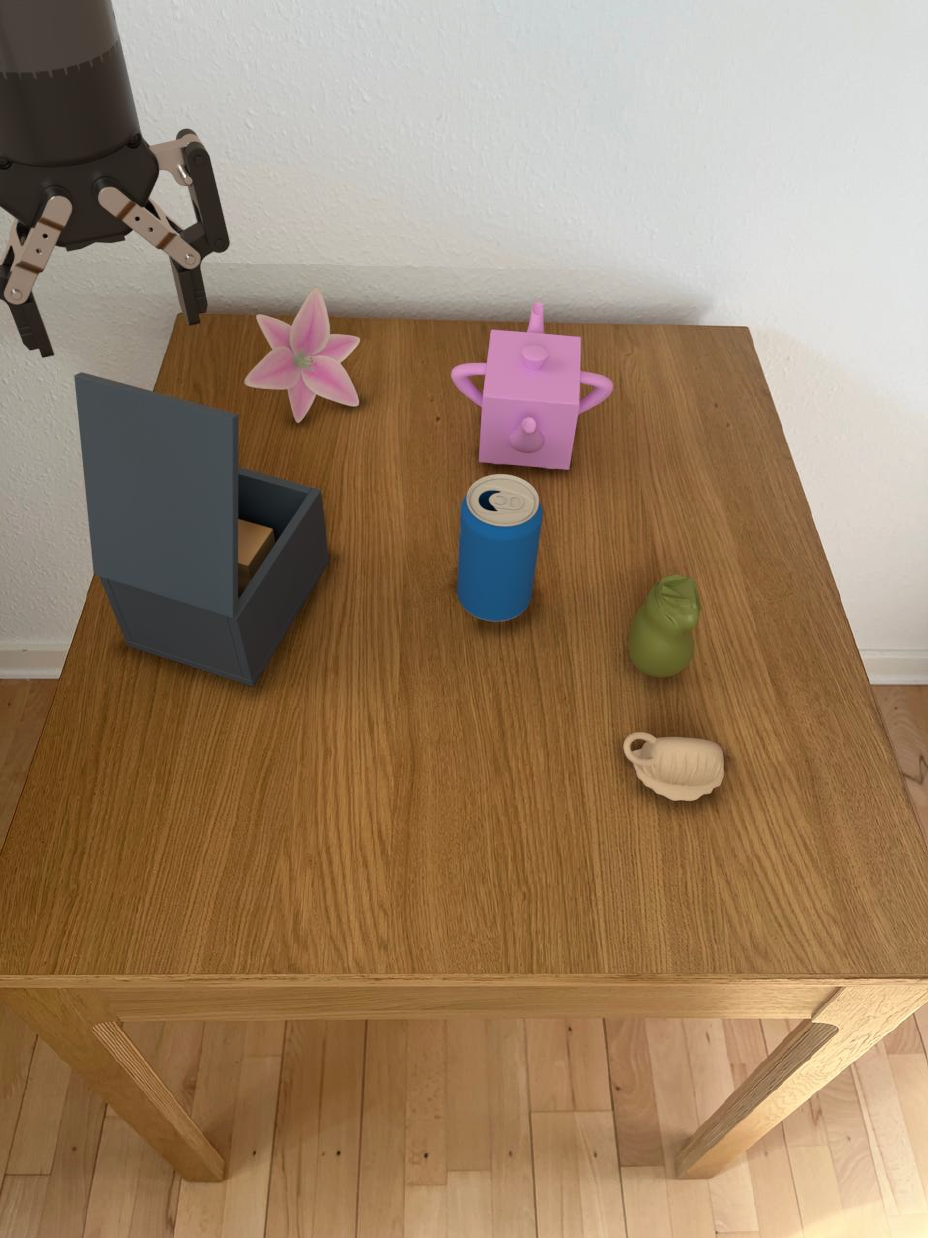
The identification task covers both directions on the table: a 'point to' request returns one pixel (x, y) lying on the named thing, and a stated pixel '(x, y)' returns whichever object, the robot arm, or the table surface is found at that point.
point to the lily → (305, 358)
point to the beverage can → (498, 547)
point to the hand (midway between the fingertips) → (120, 333)
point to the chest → (262, 606)
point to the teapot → (530, 395)
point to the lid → (161, 492)
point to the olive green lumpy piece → (665, 627)
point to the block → (252, 550)
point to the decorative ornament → (677, 765)
